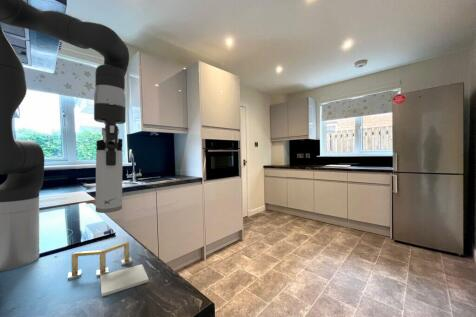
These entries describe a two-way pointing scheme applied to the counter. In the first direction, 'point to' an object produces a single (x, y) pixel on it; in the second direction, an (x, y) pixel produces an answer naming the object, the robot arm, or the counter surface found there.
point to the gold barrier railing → (102, 253)
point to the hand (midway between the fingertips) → (110, 164)
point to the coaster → (123, 279)
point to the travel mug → (108, 180)
